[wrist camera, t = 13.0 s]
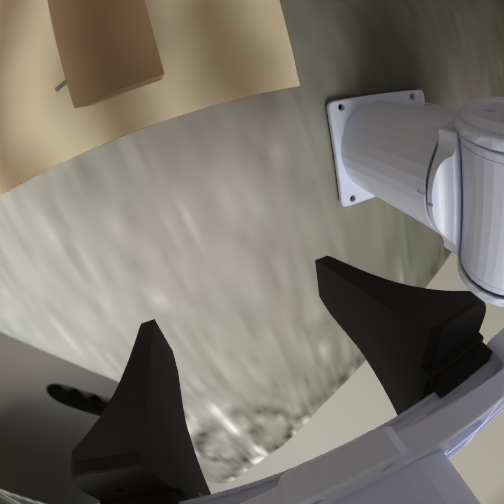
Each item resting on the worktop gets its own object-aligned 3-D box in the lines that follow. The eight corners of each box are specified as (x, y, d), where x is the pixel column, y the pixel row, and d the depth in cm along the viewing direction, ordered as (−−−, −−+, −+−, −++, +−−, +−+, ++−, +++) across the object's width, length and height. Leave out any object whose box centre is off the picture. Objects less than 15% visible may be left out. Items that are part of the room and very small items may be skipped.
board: (248, -78, 12) (253, -84, 11) (293, 86, 18) (299, 85, 18) (-40, 26, 9) (-47, 24, 8) (4, 191, 16) (-2, 196, 15)
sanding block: (131, -35, 11) (127, -71, 7) (161, 80, 15) (164, 73, 11) (65, -10, 10) (41, -39, 6) (94, 105, 15) (74, 108, 11)
